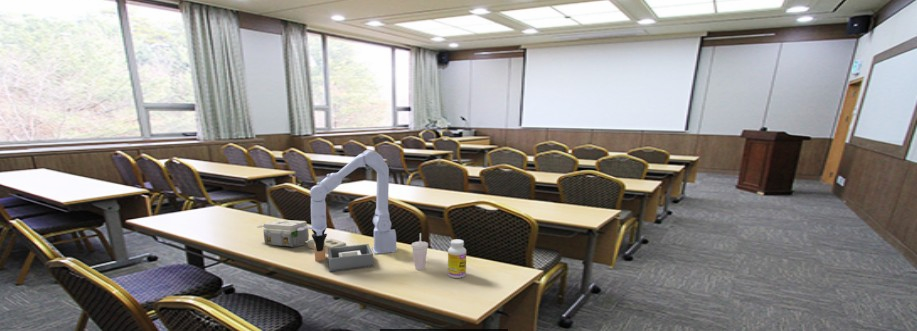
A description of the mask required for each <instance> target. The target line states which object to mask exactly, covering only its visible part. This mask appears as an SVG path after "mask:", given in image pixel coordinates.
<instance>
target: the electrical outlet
mask: <svg viewBox="0 0 917 331" xmlns="http://www.w3.org/2000/svg"><path fill="white" fill-rule="evenodd" d="M324 243H325V255H328V248H335V247H344V246H347V243H346V242H344V241H341V240H337V239H334V238H325V241H324ZM307 247H308V248H310V249H312V250H315V242H314V239H313V238H312V239H309V240H308V241H307Z"/></svg>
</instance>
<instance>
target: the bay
mask: <svg viewBox="0 0 917 331" xmlns="http://www.w3.org/2000/svg"><path fill="white" fill-rule="evenodd" d="M327 255H328V256H327V258H328V261H327V262H328V268H329V273H333V272H341V271H349V270H356V269H364V268H373V267H374V252H373V250H372V247H371V246H370V245H369V243H364V244H356V245H355V244H354V245H346V246H344V247H335V248H328V254H327Z"/></svg>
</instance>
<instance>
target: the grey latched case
mask: <svg viewBox="0 0 917 331" xmlns="http://www.w3.org/2000/svg"><path fill="white" fill-rule="evenodd" d="M308 226H311V224H309V225H308V223H307V221H305V220H293V219H292V220H290V219H289V220H288V219H276V220H273V221H269V222H266V223H263V224H262V225H258V226H256V227H257V228H258V229H259V228H263V229H262V230H263V239H264V244H265V245H271V246H280V247H281V246H286V247H291V248H296V247H300V246H303V245H306V242H308V241H309V240H310V238H309V237H310V236H309V233H310V232H309V229H308Z"/></svg>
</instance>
